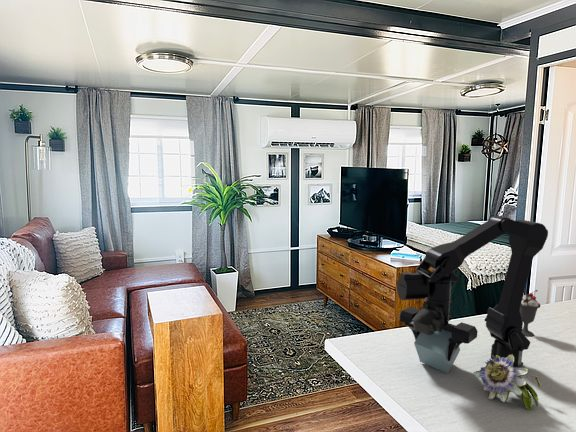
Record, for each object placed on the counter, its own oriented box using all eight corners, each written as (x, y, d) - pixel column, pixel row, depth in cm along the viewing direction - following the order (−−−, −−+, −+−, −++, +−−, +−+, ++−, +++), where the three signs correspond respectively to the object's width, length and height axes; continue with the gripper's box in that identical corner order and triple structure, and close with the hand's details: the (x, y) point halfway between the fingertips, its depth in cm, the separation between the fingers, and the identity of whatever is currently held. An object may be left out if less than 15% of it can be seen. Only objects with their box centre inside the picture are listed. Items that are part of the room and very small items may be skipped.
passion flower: (490, 420, 92) (462, 370, 95) (515, 397, 97) (487, 351, 101) (532, 419, 83) (499, 364, 86) (557, 394, 88) (525, 343, 91)
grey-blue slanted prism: (460, 350, 105) (455, 330, 100) (448, 373, 101) (442, 354, 97) (432, 339, 110) (427, 320, 106) (420, 361, 107) (414, 343, 102)
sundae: (541, 338, 122) (546, 292, 120) (517, 336, 124) (522, 290, 122) (532, 330, 129) (537, 286, 127) (510, 328, 130) (514, 284, 128)
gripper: (388, 295, 102) (386, 351, 104) (460, 316, 88) (455, 381, 91) (411, 286, 109) (408, 339, 112) (480, 304, 96) (475, 364, 98)
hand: (434, 354), depth 103 cm, fingers closed on grey-blue slanted prism, 8 cm apart
